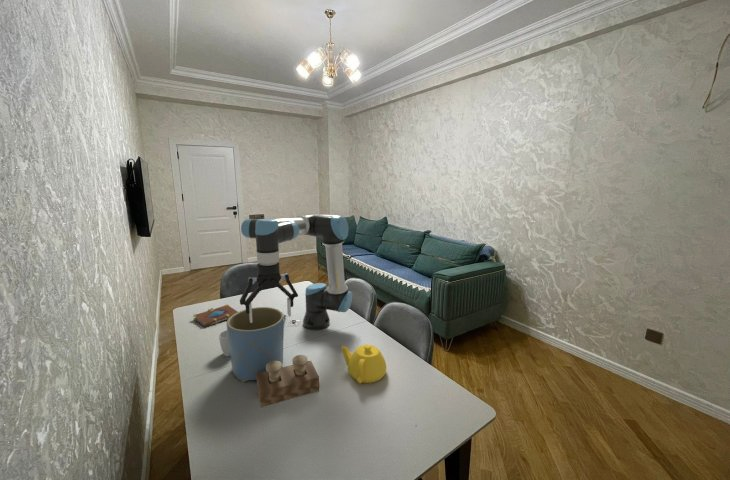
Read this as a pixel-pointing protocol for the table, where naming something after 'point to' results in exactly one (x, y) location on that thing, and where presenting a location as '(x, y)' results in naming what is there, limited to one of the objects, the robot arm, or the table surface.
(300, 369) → the peg
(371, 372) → the teapot
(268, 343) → the planter
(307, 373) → the socket block
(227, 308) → the book
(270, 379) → the peg
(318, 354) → the table surface
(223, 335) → the cup
